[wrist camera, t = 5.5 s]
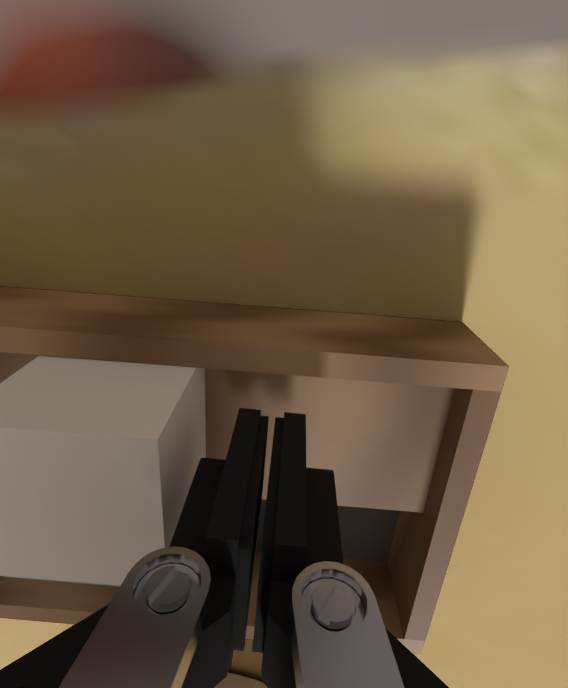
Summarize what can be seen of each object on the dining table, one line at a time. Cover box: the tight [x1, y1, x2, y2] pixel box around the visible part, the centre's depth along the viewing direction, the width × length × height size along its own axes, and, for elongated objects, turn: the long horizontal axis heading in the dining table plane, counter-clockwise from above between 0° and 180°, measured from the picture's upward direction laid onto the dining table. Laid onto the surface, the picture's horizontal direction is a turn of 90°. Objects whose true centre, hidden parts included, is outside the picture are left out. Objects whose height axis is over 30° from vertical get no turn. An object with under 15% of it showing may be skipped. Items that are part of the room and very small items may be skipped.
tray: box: [0, 286, 509, 654], centre depth 14 cm, size 18×11×3 cm, turn 86°
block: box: [0, 355, 206, 586], centre depth 10 cm, size 4×4×4 cm
